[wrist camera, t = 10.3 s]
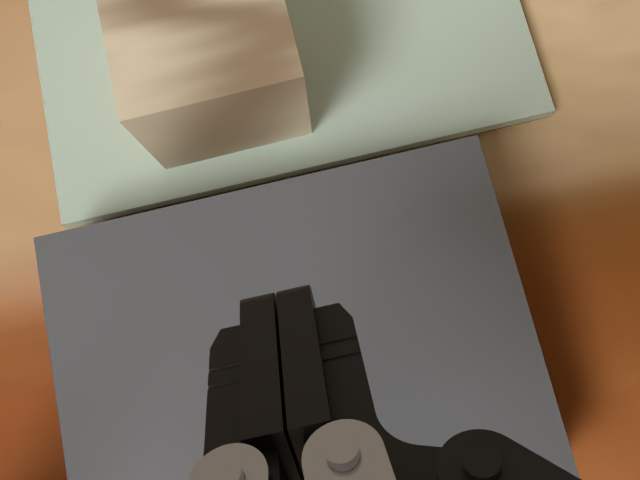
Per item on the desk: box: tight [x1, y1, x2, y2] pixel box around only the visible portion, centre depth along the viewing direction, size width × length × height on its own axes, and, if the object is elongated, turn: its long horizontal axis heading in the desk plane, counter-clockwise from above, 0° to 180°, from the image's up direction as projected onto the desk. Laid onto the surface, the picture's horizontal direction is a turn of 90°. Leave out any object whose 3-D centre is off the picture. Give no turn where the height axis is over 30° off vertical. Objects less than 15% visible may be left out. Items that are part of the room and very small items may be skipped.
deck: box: [34, 135, 580, 480], centre depth 21 cm, size 16×12×3 cm
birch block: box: [96, 0, 312, 169], centre depth 22 cm, size 6×5×7 cm
